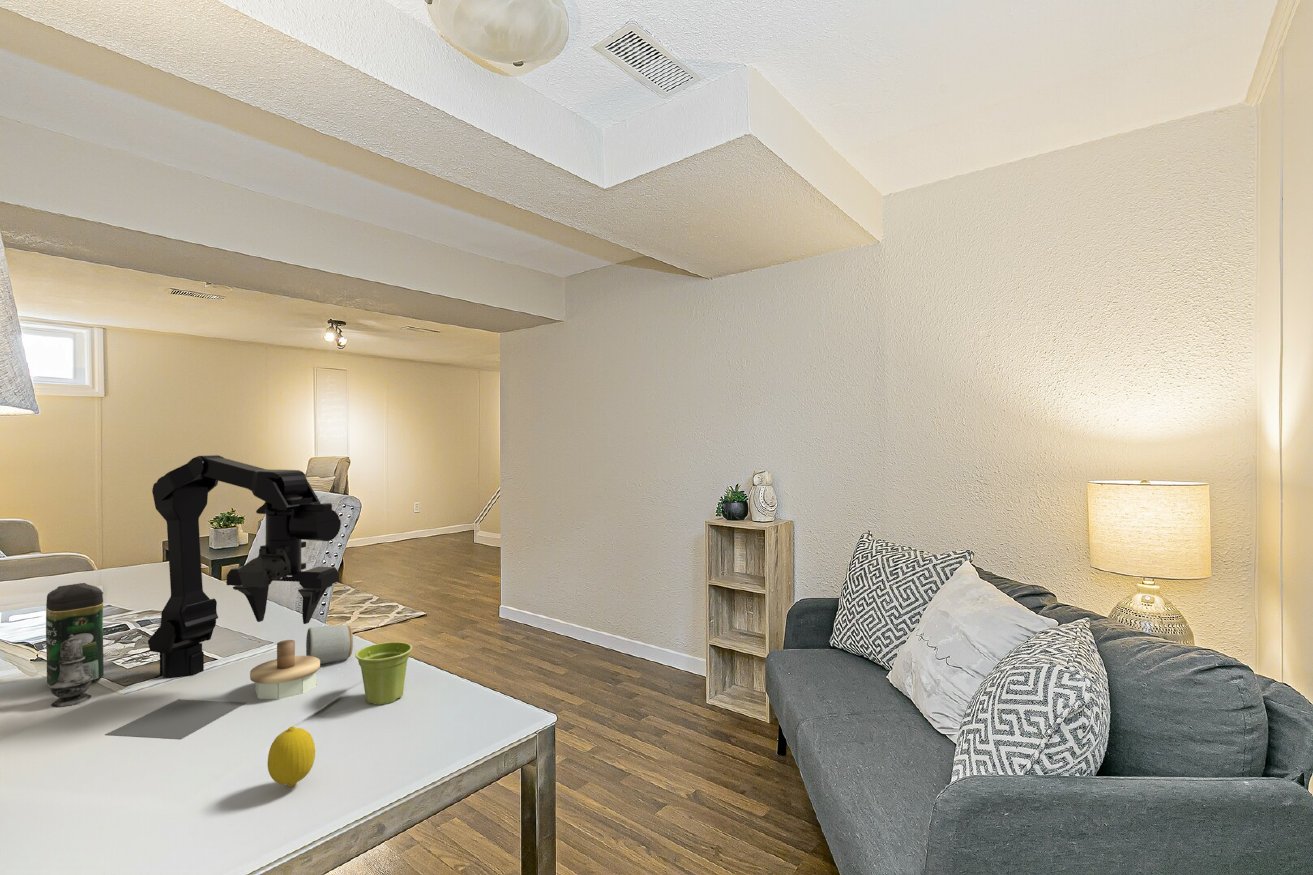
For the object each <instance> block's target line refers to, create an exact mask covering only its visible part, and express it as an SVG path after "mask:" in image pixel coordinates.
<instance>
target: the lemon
mask: <svg viewBox="0 0 1313 875" xmlns="http://www.w3.org/2000/svg"><path fill="white" fill-rule="evenodd" d="M314 741H315V740H314V739H313V737H312V734H311V733H310V732H309V731H307V730H306V729H304V728H301V727H296V726H290V727H289V726H288V728H287V729H285V730H284V731H282V732H280V733H279V734H278V735H277V736H276V737H275V738H274V740H273V742H272V743H271V744H270V747H269V751H268V756H267V770H268V773H269V776H270V778H271V779H272V780H273V781H274V782H275V783H278V784H279V785H283V786H288V787H289V788H292V787H294V786H296V785H297V783H299V782H300V781H302V780H303V779H305V777H307V775H308V774H309V773H310V771H311V769H312V768H313V766H314V762H315V759H316V747H315V742H314Z"/></svg>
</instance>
